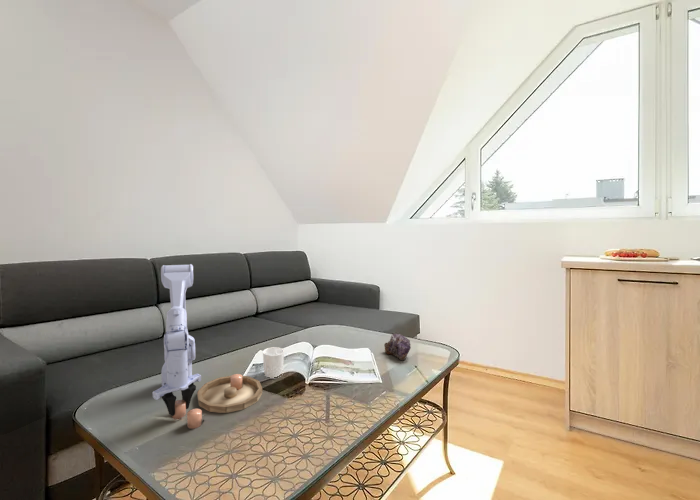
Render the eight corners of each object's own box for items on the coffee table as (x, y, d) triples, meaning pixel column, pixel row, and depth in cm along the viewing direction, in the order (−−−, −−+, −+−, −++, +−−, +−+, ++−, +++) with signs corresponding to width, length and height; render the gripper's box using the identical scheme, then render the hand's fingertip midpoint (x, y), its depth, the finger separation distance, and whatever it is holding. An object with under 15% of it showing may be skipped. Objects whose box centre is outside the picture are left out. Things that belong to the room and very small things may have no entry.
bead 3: (228, 389, 131) (228, 378, 131) (233, 384, 135) (233, 373, 135) (240, 390, 131) (239, 379, 130) (244, 384, 135) (244, 374, 134)
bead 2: (184, 428, 110) (184, 415, 110) (191, 420, 114) (191, 408, 114) (198, 429, 110) (197, 416, 110) (204, 421, 114) (204, 409, 114)
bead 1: (169, 418, 114) (168, 406, 113) (176, 411, 118) (175, 399, 117) (181, 419, 114) (181, 407, 113) (188, 412, 118) (188, 400, 117)
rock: (396, 364, 160) (414, 359, 165) (399, 347, 158) (417, 342, 163) (381, 350, 170) (398, 346, 175) (383, 333, 167) (401, 329, 172)
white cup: (279, 382, 139) (279, 356, 138) (259, 379, 141) (259, 354, 139) (286, 372, 147) (287, 348, 145) (267, 370, 148) (268, 346, 147)
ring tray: (186, 412, 118) (185, 403, 118) (214, 380, 139) (214, 373, 138) (249, 417, 117) (249, 408, 117) (268, 384, 137) (268, 377, 137)
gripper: (161, 382, 105) (162, 427, 107) (206, 364, 117) (207, 405, 119) (147, 375, 109) (149, 418, 111) (193, 358, 121) (194, 397, 123)
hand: (178, 411), depth 116 cm, fingers closed on bead 1, 4 cm apart
